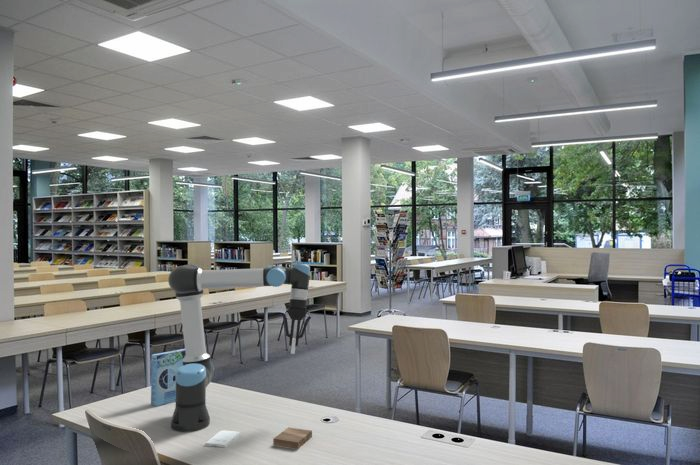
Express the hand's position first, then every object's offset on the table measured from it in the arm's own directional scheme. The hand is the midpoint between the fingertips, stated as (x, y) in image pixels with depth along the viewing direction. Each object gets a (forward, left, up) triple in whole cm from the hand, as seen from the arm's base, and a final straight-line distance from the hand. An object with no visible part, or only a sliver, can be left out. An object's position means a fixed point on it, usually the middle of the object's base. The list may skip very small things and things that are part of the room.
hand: (292, 353), depth 214 cm
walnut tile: (+2, -24, -25) cm, 35 cm away
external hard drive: (-27, -24, -27) cm, 45 cm away
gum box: (-55, +28, -26) cm, 67 cm away
